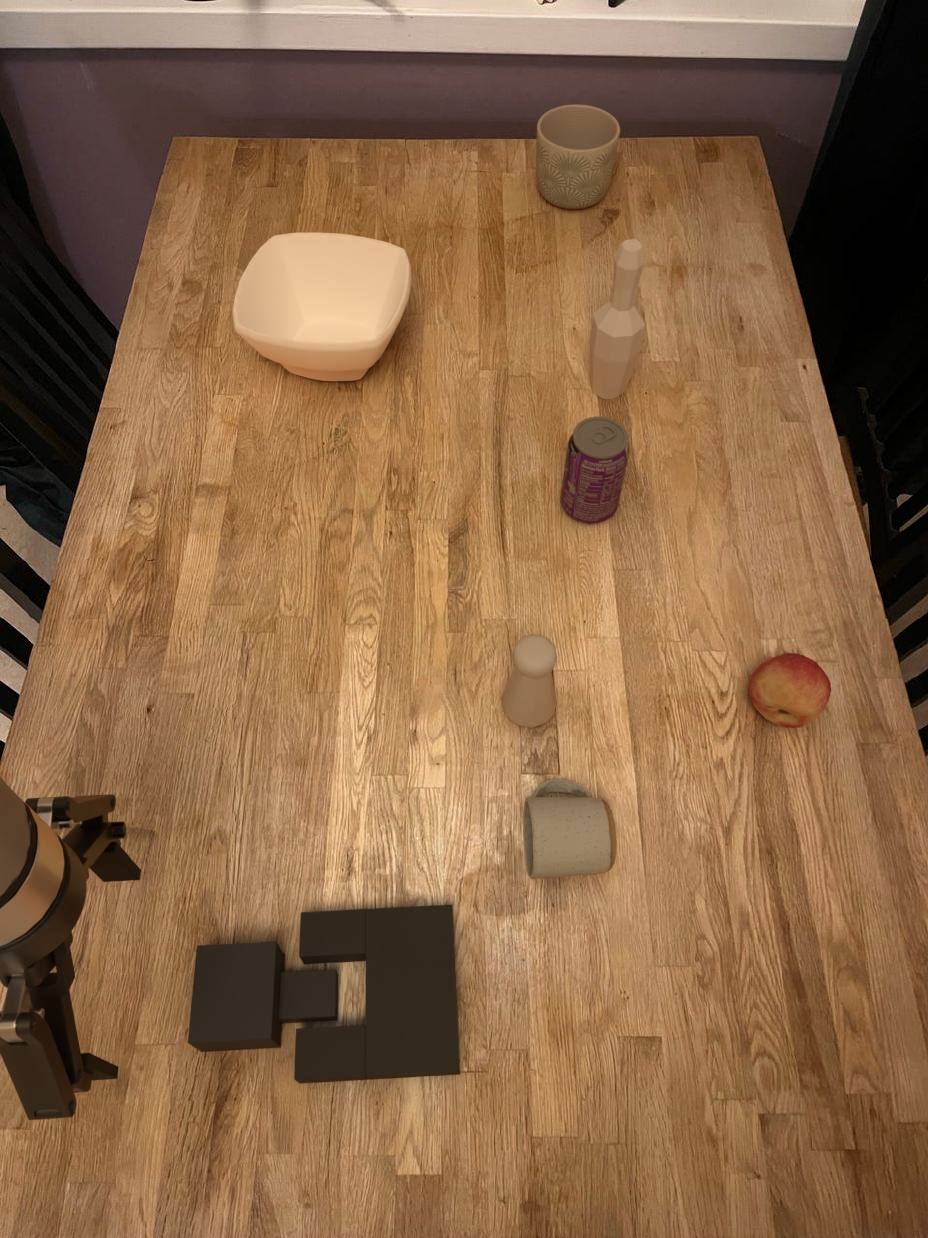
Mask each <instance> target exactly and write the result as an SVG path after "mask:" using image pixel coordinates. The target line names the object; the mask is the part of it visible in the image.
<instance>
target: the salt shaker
mask: <svg viewBox="0 0 928 1238" xmlns="http://www.w3.org/2000/svg"><path fill="white" fill-rule="evenodd" d="M511 656H512V663H513V666H514V669H513V671H512V673H511V675H510V677H509V679H508V681H507V683H506V685H505V687H504V689H503V692H502V695H501V697H500V699H501V706H502V710H503V712H504V714H505V715H506V717H507V718H508V719H509V721H510V722H512V723H513V724H515V725H516V726H517V725H518V726H520V727H524V728H527V729H533V728H535V727H538V726H541V725H544V724H546V723H547V722H548V721H549V720H550V719H551V718H552V717H553V716H554V715H555V711H556V707H557V704H558V702H557V701H558V700H557V697H556V691H555V686H554V679H553V675H552V671H553V670H554V669H555V666H556V663H557V659H558V655H557V650H556V645H555V644H554V643H553V642H552V641H551V639H550V638H548V637H546V636H544V635H542V634H537V633H536V634H534V633H531V634H528V635H523V636H522V637H521V638H519V640H517V642H516V644H515V645H514V648H513V651H512V653H511Z"/></svg>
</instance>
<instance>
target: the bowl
mask: <svg viewBox="0 0 928 1238" xmlns="http://www.w3.org/2000/svg"><path fill="white" fill-rule="evenodd" d="M411 288H412V265H411V262H410V259H409V257H408V253H407V251H406V249H404V248H403V247H400V246H398V245H395V244H392V243H390V242H387V241H384V240H379V239H375V238H370V237H366V236H359V235H353V234H347V233H338V232H337V233H333V232H290V233H282V234H276V235H273V236H271V237H270V238H269V239H268V240H267V241H265V242H264V243H263V244H262V245H261V246H260V247H259V248H258V249H257V251H256V252H255V253H254V255H253V256H252V258H251V259H250V260H249V263H248V264H247V266H246V268H245V270H244V272H243V273H242V275H241V277H240V279H239V282H238V285H237V288H236V292H235V294H234V298H233V303H232V304H233V305H232V311H231V316H232V322H233V330H234V331H235V333H237V334H238V335H239V336H240V337H241V338H242V339H243V340H244V341H245V342H246V343H247V344H248V345H250V346H251V347H252V348H253V349H254V350H255V351H256V352H257V353H258V354H260V355H261V356H262V357H263V358H266V359H268V360H270V361H271V362H272V361H273V362H275V363H279V364H280V365H281V366H282V367H283V368H284V369H285V370H286V371H287V372H289V373H290V374H293V375H297V376H300V377H304V378H307V379H311V380H316V381H321V382H352V381H359V380H361V379H362V378H363V377H364V376H365V375H366V373H367V372H368V370H369V369H370V368H371V367H373V366H374V365H375V363H377V361H378V360H379V359H380V358H381V357H382V356H383V354H384V353H385V351H386V349H387V347H388V346H389V344H390V342H391V339H392V338H393V336H394V335H395V332H396V330H397V328H398V325H400V322H401V320H402V318H403V314H404V312H405V310H406V308H407V305H408V303H409V298H410V294H411Z"/></svg>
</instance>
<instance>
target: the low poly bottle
mask: <svg viewBox="0 0 928 1238" xmlns="http://www.w3.org/2000/svg"><path fill="white" fill-rule="evenodd" d="M644 267H645V257H644V248H643V246H642V243H641V242H640V241H639V240H637V239H635V238H632V239H625V240H623V242H621V244H620V245H619V247H618V249H617V251H616V253H615V255H614V257H613V273H612V274H613V276H612V277H613V278H612V285H611V291H610V297H609V301H608V302H607V303H606V304H604V305H603V306H602V307H600V308H599V309H598V310H597V311H595V312H594V313H593V314H592V319H591V325H590V333H589V341H588V344H589V385H590V388H591V392H592V393H593V395H596V396H597V397H599V398H601V399H602V400H613V399H618V398H619V397H620V396H621V395H623V394H624V393H625V392H626V390H627V387H628V385H629V383H630V381H631V377H632V375H633V373H634V372H633V371H634V370H635V367H636V365H637V362H638V359H639V356H640V353H641V349H642V346H643V341H644V340H643V339H644V335H645V330H646V323H645V320H644V317H643V314H642V312H641V310H640V309H639V308H638V306H637V305H636V298H637V293H638V288H639V283H640V280H641V277H642V273H643V270H644Z"/></svg>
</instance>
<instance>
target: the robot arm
mask: <svg viewBox="0 0 928 1238" xmlns="http://www.w3.org/2000/svg"><path fill="white" fill-rule="evenodd" d="M116 806H117V798H116V796H115V794H113V793H111V794H109V793H108V794H90V795H77V796H76V795H75V796H73V797H71V796H70V795H63V796H62V795H61V796H44V797H28V798H26V800H25V801H24V800H23V799H22V798H21V797H20V796H19V795H18V794H17V793H16V792H15V791H14V790H13V789H12V788H11V786H9V784H7V782H5V781H4V779H3V778H2V777H1V776H0V983H1V984H2V986H3V987H5V988H6V994H5V998H4V1002H3V1007H2V1010H0V1056H1V1059H2V1061H3V1063H4V1066H5V1068H6V1070H7V1073H8V1075H9V1077H10V1080H11V1082H12V1084H13V1087H14V1089H15V1092H16V1094H17V1096H18V1099H19V1100H20V1103H21V1106H22V1108H23V1110H24V1112H25V1114H26V1117H27V1119H28V1120H29V1121H38V1120H39V1121H40V1120H54V1119H56V1120H57V1119H66V1118H67V1119H68V1118H73V1117H74V1116H75V1114H76V1109H77V1105H78V1104H77V1098H76V1094H79V1093H88V1092H89V1091H90V1090H91V1088H92V1081H105V1080H107V1081H108V1080H118V1076H119V1068H120V1066H118V1065H116V1064H114V1063H112V1062H110V1061H108V1060H105V1059H103V1058H101V1057H99V1056H97V1055H95V1054H93V1053H91V1052H81V1049H80V1048H81V1047H80V1041H79V1036H78V1031H77V1030H78V1029H77V1025H76V1018H75V1014H74V1008H73V1002H72V997H71V991H70V990H71V987H72V985H73V983H74V982H75V979H76V971H75V966H74V960H73V956H72V949H71V946H72V944H73V943H74V936H73V930H74V929H75V927H76V926H77V924H78V921H79V919H80V918H81V915H82V912H83V910H84V907H85V904H86V898H87V889H88V884H87V881H88V880H89V878H90V871H92V872H93V874H95V875H96V876H97V878H99V879H100V880H101V881H102V882H103V883H111V882H112V883H113V882H129V881H141V875H142V869H141V868H140V867H139V866H138V865H137V864H136V862H135V861H134V860H133V859H132V858H131V856H130V855H129V854H128V853H127V852H126V851H125V850H124V848H123V847H122V842H121V839H126V834H127V825H126V824H127V823H126V822H125V821H124V820H122V821H120V820H119V821H109V814H110V813H113V812H115V809H116ZM75 823H76V824H75ZM74 824H75V825H74ZM64 829H71V830H69V832H68V833H67V834H66V835H64V836H63V838H61V836H59V834H61V833H62V832H63V830H64ZM54 969H56V972H52V971H53V970H54Z"/></svg>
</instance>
